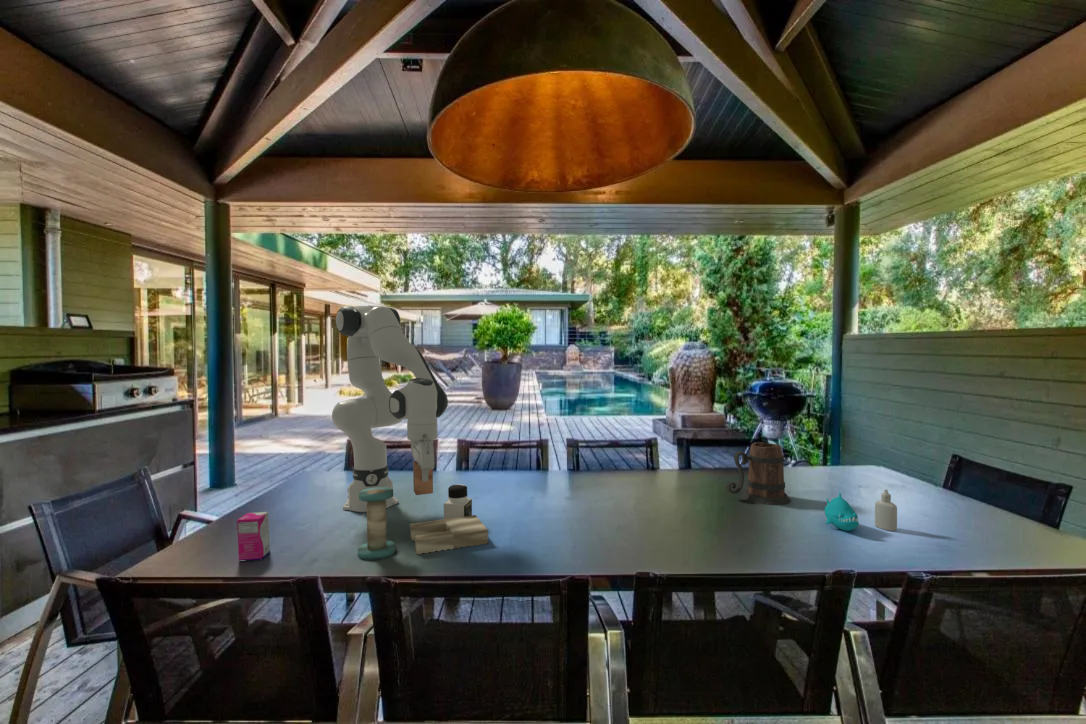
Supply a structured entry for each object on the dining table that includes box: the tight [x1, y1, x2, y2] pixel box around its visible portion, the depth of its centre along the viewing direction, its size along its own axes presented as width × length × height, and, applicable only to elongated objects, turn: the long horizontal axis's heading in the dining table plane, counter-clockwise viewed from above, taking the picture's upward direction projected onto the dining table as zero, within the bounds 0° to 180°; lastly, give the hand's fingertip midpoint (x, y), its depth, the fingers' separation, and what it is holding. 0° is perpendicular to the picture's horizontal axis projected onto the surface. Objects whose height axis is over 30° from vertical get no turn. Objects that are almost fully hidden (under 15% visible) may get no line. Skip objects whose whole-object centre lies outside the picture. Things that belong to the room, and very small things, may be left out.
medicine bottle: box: [443, 483, 473, 519], centre depth 162 cm, size 7×7×12 cm
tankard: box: [726, 441, 792, 506], centre depth 185 cm, size 24×17×20 cm
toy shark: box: [824, 491, 860, 532], centre depth 156 cm, size 10×18×11 cm, turn 174°
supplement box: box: [236, 511, 271, 561], centre depth 135 cm, size 6×6×12 cm
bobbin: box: [357, 487, 397, 561], centre depth 138 cm, size 10×10×17 cm
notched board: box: [409, 514, 489, 555], centre depth 146 cm, size 14×20×4 cm
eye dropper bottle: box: [874, 488, 898, 532], centre depth 153 cm, size 4×6×12 cm
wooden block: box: [412, 460, 434, 496], centre depth 150 cm, size 5×5×9 cm
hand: (423, 478), depth 150 cm, fingers closed on wooden block, 5 cm apart
